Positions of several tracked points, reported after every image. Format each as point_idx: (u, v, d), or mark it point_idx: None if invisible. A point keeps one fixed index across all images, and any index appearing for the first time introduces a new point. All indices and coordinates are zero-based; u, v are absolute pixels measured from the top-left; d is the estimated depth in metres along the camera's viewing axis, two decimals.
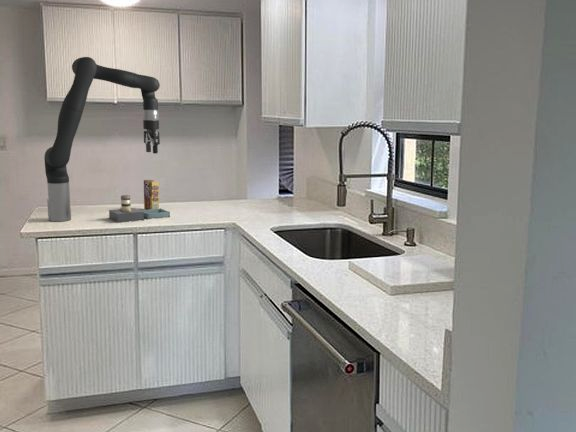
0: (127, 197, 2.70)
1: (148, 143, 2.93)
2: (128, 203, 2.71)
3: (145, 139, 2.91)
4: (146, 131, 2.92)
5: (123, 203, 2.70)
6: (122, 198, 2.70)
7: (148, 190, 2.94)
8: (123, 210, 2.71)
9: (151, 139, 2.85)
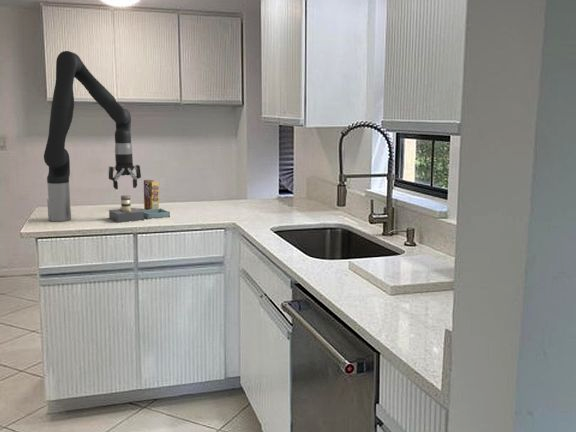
0: (127, 197, 2.70)
1: None
2: (128, 203, 2.71)
3: (118, 175, 2.66)
4: (113, 167, 2.66)
5: (123, 203, 2.70)
6: (122, 198, 2.70)
7: (148, 190, 2.94)
8: (123, 210, 2.71)
9: (133, 173, 2.70)
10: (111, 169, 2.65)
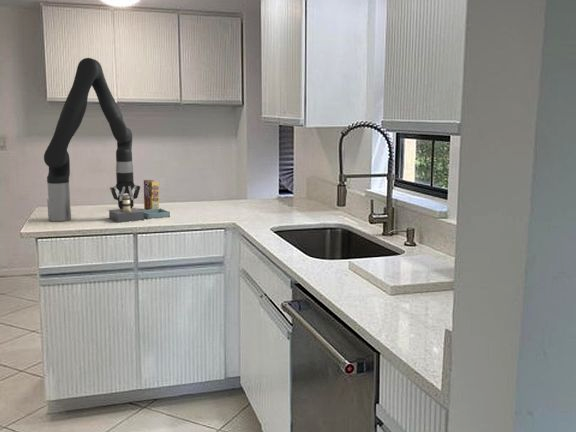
0: (127, 197, 2.70)
1: None
2: (128, 203, 2.71)
3: (121, 194, 2.69)
4: (114, 186, 2.67)
5: (123, 203, 2.70)
6: (122, 198, 2.70)
7: (148, 190, 2.94)
8: (123, 210, 2.71)
9: (132, 193, 2.71)
10: (113, 190, 2.67)
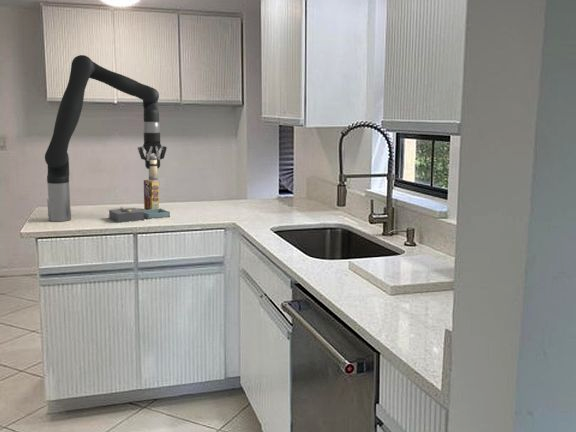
0: (154, 157, 2.75)
1: None
2: (155, 163, 2.76)
3: (148, 154, 2.74)
4: None
5: (150, 163, 2.75)
6: (149, 158, 2.75)
7: (148, 190, 2.94)
8: (150, 170, 2.76)
9: None
10: (140, 149, 2.72)
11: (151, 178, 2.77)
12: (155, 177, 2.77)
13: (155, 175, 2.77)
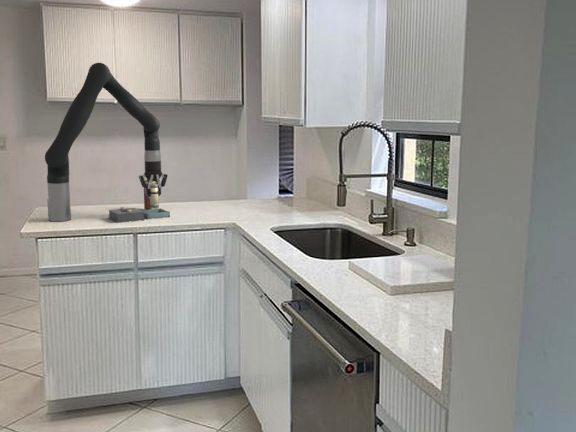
0: (155, 185, 2.78)
1: None
2: (156, 191, 2.79)
3: (149, 183, 2.76)
4: (142, 175, 2.75)
5: (151, 191, 2.78)
6: (150, 186, 2.77)
7: None
8: (151, 198, 2.78)
9: None
10: (142, 178, 2.74)
11: (152, 206, 2.79)
12: (156, 204, 2.79)
13: (156, 203, 2.79)
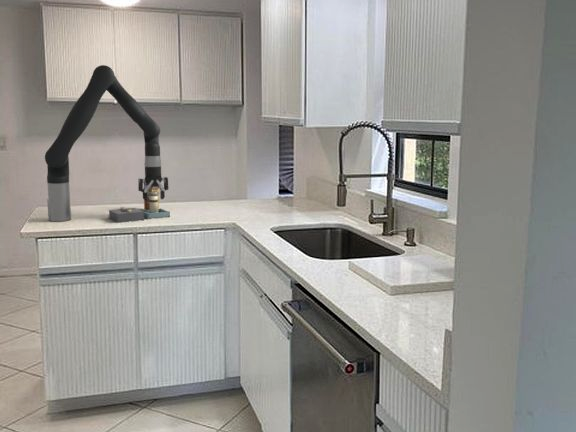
0: (155, 193, 2.78)
1: None
2: (156, 199, 2.79)
3: (147, 187, 2.76)
4: (143, 179, 2.75)
5: (151, 199, 2.78)
6: (150, 194, 2.78)
7: (148, 190, 2.94)
8: (151, 206, 2.79)
9: None
10: (141, 181, 2.74)
11: None
12: (156, 212, 2.80)
13: (156, 211, 2.80)
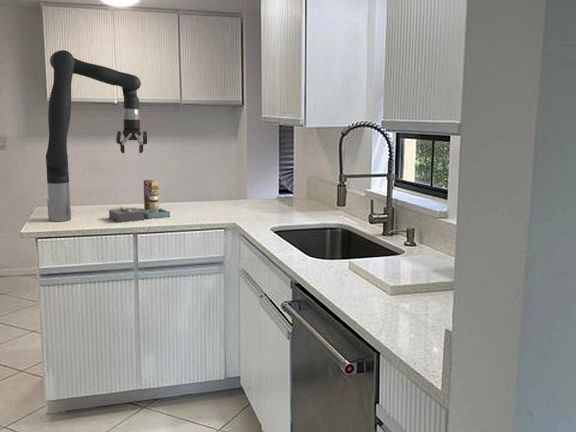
0: (155, 193, 2.78)
1: None
2: (156, 199, 2.79)
3: (125, 139, 2.77)
4: (121, 131, 2.77)
5: (151, 199, 2.79)
6: (150, 194, 2.78)
7: (148, 190, 2.94)
8: (151, 206, 2.79)
9: (140, 139, 2.81)
10: (119, 133, 2.76)
11: None
12: (156, 212, 2.80)
13: (156, 211, 2.80)
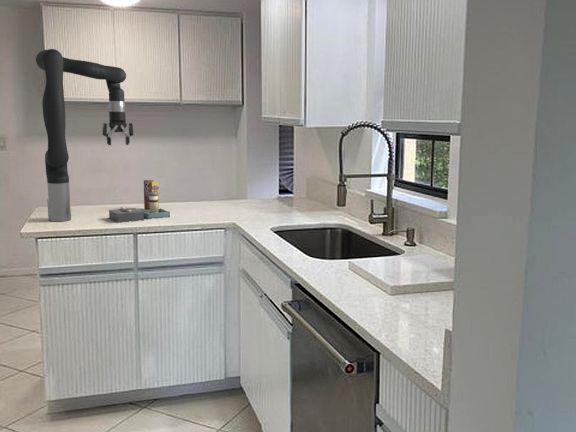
0: (155, 193, 2.78)
1: None
2: (156, 199, 2.79)
3: (111, 131, 2.81)
4: None
5: (151, 199, 2.79)
6: (150, 194, 2.78)
7: (148, 190, 2.94)
8: (151, 206, 2.79)
9: None
10: (105, 125, 2.79)
11: None
12: (156, 212, 2.80)
13: (156, 211, 2.80)
